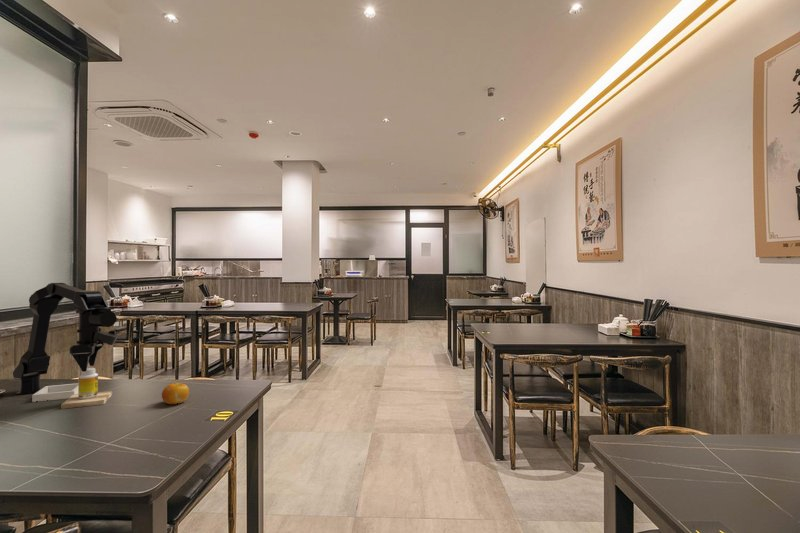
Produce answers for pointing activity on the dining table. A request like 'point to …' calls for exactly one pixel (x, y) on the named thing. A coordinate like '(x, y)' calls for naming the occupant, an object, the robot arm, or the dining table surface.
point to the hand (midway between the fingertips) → (88, 368)
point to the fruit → (175, 393)
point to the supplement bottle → (88, 384)
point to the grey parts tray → (55, 392)
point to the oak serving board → (86, 400)
